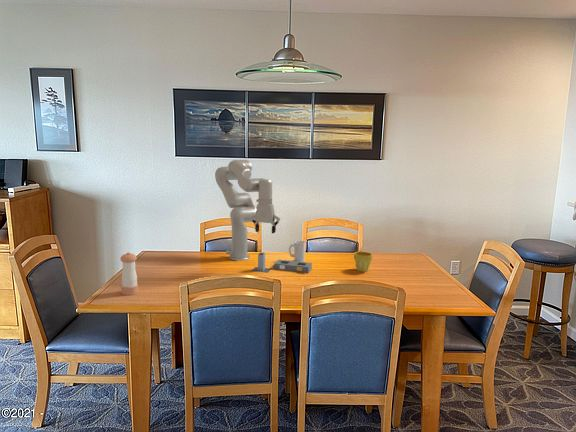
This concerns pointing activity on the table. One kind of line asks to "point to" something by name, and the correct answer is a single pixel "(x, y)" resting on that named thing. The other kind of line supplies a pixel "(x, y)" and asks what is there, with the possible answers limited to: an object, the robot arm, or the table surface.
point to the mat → (261, 271)
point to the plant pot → (362, 260)
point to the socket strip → (293, 266)
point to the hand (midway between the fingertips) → (265, 232)
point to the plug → (261, 261)
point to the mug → (298, 251)
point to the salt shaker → (129, 274)
